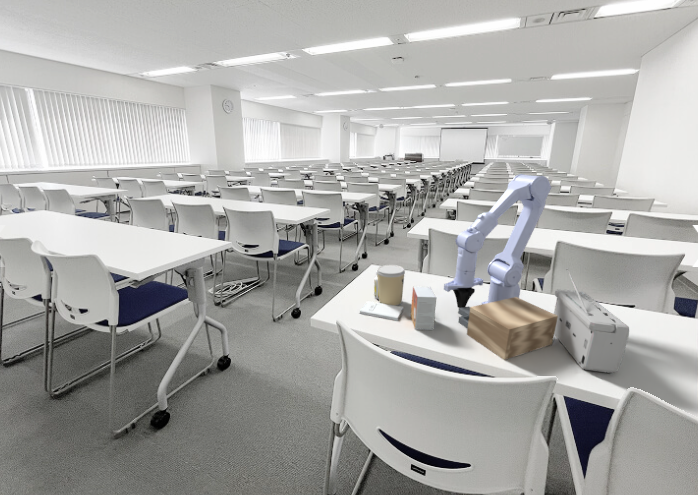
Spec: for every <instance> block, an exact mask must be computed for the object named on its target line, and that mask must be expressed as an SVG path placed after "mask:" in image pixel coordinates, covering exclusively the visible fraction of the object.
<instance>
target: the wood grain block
mask: <svg viewBox="0 0 698 495" xmlns="http://www.w3.org/2000/svg"><path fill="white" fill-rule="evenodd" d="M469 307H470V313H469V321H468V329H467V328H466V330H467V331H466V335H467V336H468V337H470V338H471V339H473V340H474V341H475V342H477V343H479V344H480V345H481V346H483V347H485V348H486V349H488V350H489V351H491V352H492V353H494V354H495V355H496V356H498V358H500V359H502V360H504V361H505V360H508V359H511V358H514V357H517V356H520V355H523V354H528V353H530V352H533V351H536V350H539V349H542V348H545V347H549V346H552V345H553V341H554V338H555V337H554V336H555V334H554V332H555V327H556V323H557V318H558V316H557V315H555V314H554V312H553V313H552V312H550V311H548V310H546V309H544V308H542V307H539V306H537V305H534V304H533V303H530V302H529V301H527V300H524V299H522V298H520V297H519V298H517V297H513V298H509V299H504V300H500V301H495V302H491V303H487V304H482V303H481V304H478V305H473V306H469Z"/></svg>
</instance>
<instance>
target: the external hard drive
mask: <svg viewBox="0 0 698 495" xmlns="http://www.w3.org/2000/svg"><path fill="white" fill-rule="evenodd" d="M403 311H404V306H400V305H398V306H394V305H388V304H382V303H380V302H376V301H371V300H367V301H366V302H365V303H364V304H363V306H362V307H361V309H360V310H359V314H361V315H366V316H372V317H376V318H377V317H378V318H381V319H387V320H392V321H399V319H400V318H401V315H402V312H403Z"/></svg>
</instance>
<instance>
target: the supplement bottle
mask: <svg viewBox="0 0 698 495" xmlns="http://www.w3.org/2000/svg"><path fill="white" fill-rule="evenodd" d="M375 275H376V276H374V282H373V283H374V285H373V288H374V290H373V291H374V294H373V295H374V298H375V299H377V300H379V291H378V276H377V270H376V271H375Z"/></svg>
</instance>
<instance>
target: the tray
mask: <svg viewBox="0 0 698 495" xmlns="http://www.w3.org/2000/svg"><path fill="white" fill-rule="evenodd" d="M470 307H471V306H469V305H467V306H466V307H463V308H458V312H457V313H458V314H459V315H460V316H458V324H460V325H461V326H463V327H464V328H465V329H466V330H467V329H468V321H469V313H470Z"/></svg>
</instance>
